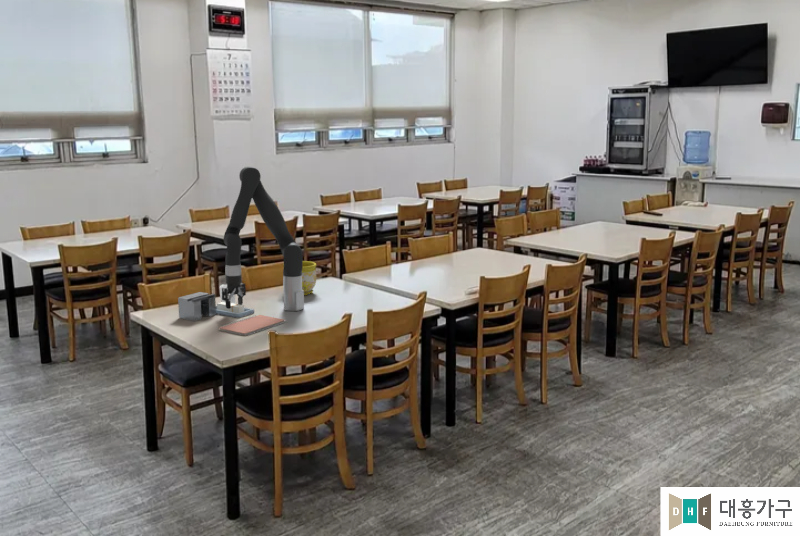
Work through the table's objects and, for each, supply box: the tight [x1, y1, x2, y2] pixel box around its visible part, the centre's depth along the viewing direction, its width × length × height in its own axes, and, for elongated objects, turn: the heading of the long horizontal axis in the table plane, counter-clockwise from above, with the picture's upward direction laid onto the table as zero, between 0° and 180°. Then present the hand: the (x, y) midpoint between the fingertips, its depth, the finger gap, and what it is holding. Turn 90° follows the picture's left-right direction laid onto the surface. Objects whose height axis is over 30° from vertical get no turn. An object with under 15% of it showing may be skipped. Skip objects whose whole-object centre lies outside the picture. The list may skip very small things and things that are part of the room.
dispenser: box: [177, 291, 217, 322], centre depth 347 cm, size 10×14×10 cm
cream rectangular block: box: [216, 301, 245, 313], centre depth 356 cm, size 14×4×4 cm, turn 60°
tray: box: [216, 305, 255, 319], centre depth 356 cm, size 20×11×2 cm, turn 60°
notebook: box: [218, 314, 286, 337], centre depth 333 cm, size 27×17×2 cm, turn 149°
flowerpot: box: [282, 260, 317, 296], centre depth 397 cm, size 18×18×16 cm
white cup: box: [219, 284, 237, 304], centre depth 369 cm, size 8×8×10 cm
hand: (234, 306), depth 355 cm, fingers open, 8 cm apart
